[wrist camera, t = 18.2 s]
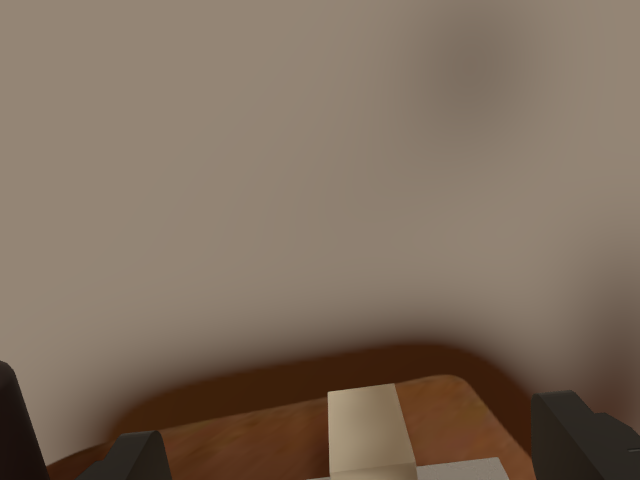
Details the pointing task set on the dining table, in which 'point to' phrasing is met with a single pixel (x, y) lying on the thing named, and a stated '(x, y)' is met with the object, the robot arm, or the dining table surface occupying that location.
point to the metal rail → (460, 471)
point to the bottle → (17, 433)
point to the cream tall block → (368, 436)
